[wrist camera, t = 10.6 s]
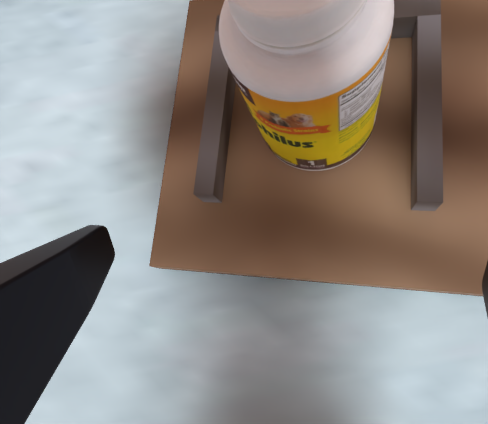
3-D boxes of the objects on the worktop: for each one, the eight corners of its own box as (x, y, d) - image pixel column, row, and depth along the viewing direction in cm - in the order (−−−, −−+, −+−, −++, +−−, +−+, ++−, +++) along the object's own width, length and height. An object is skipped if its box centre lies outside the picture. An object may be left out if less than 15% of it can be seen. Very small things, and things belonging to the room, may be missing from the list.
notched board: (490, 296, 17) (517, 294, 15) (159, 268, 21) (134, 262, 19) (478, -10, 21) (498, -55, 18) (196, 14, 25) (180, -20, 22)
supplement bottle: (242, 128, 21) (151, -26, 11) (317, 54, 21) (293, -167, 11) (317, 198, 19) (289, 88, 9) (400, 117, 19) (460, -82, 9)
